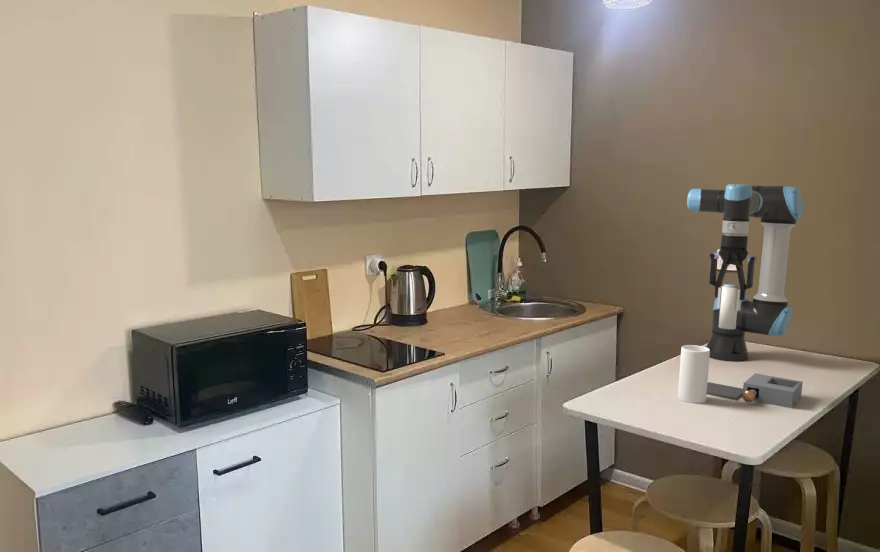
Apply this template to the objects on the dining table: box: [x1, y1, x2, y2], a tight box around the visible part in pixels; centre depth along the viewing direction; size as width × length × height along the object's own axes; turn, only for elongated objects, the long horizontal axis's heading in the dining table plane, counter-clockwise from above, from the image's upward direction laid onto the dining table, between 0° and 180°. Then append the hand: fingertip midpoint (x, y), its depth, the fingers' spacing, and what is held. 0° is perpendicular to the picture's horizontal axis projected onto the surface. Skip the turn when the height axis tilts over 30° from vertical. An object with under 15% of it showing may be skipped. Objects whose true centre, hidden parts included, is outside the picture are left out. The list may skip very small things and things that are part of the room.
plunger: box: [741, 388, 759, 403], centre depth 221 cm, size 10×3×3 cm, turn 143°
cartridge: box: [719, 283, 740, 329], centre depth 226 cm, size 5×5×14 cm
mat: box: [706, 381, 743, 401], centre depth 230 cm, size 12×12×1 cm
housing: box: [741, 373, 804, 409], centre depth 224 cm, size 14×14×5 cm
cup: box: [677, 344, 710, 404], centre depth 220 cm, size 8×8×16 cm
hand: (728, 308), depth 226 cm, fingers closed on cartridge, 5 cm apart
